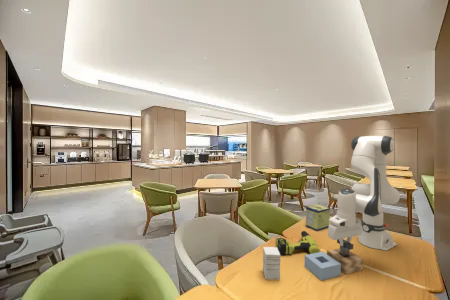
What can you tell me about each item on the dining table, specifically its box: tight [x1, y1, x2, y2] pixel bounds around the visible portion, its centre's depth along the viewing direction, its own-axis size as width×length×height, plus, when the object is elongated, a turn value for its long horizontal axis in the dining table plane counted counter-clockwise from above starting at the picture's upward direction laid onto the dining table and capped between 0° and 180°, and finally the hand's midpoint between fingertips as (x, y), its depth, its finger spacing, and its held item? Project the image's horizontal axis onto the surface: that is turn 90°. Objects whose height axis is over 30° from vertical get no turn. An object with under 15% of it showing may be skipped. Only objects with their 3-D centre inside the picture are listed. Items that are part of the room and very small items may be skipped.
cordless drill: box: [274, 230, 321, 256], centre depth 133 cm, size 7×25×25 cm
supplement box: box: [262, 246, 281, 280], centre depth 104 cm, size 7×7×13 cm
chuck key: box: [336, 238, 354, 258], centre depth 113 cm, size 8×3×13 cm, turn 18°
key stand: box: [326, 247, 364, 275], centre depth 113 cm, size 12×12×6 cm
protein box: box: [305, 203, 331, 232], centre depth 163 cm, size 10×16×16 cm
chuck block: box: [303, 251, 342, 281], centre depth 108 cm, size 12×12×6 cm
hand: (344, 244), depth 113 cm, fingers closed on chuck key, 2 cm apart
